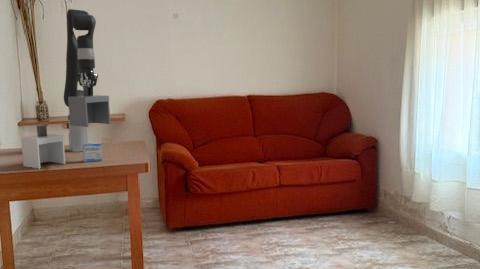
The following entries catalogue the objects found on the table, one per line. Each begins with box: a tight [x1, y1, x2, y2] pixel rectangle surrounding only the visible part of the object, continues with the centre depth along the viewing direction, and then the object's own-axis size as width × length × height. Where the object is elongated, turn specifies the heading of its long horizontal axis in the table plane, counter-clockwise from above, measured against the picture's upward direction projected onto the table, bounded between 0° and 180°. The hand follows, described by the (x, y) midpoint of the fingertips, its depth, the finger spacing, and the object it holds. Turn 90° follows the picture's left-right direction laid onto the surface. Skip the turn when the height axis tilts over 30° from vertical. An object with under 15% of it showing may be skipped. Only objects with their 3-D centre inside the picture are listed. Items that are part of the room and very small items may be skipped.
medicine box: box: [82, 142, 103, 163], centre depth 225 cm, size 8×4×9 cm, turn 117°
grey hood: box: [20, 124, 66, 170], centre depth 217 cm, size 13×13×19 cm
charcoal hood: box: [68, 86, 111, 128], centre depth 222 cm, size 13×13×19 cm
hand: (88, 95), depth 221 cm, fingers closed on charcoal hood, 3 cm apart
